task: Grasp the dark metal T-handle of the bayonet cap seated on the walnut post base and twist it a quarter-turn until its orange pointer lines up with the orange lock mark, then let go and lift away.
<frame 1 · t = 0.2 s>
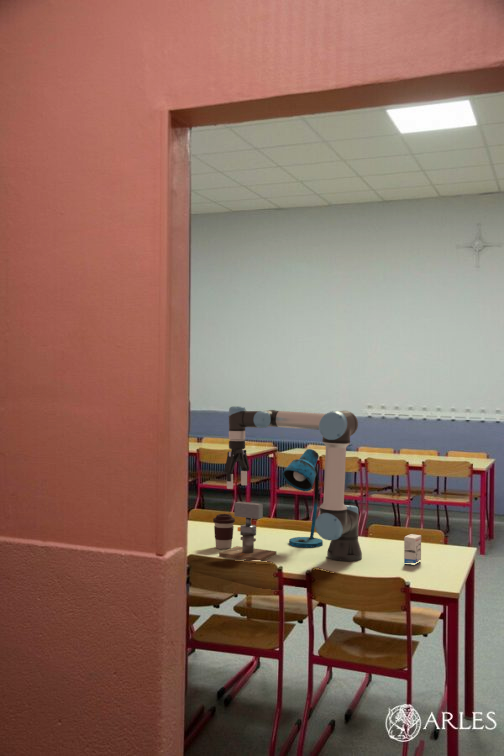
hand: (237, 486, 339), 29 cm above the table, fingers open, 13 cm apart
twist cap: (248, 518, 328), point 16 cm above the table, hinge at 0.0°
desk lamp: (303, 545, 351), on the table
post base: (247, 555, 328), on the table
coffee cup: (223, 548, 343), on the table
ink box: (412, 563, 318), on the table
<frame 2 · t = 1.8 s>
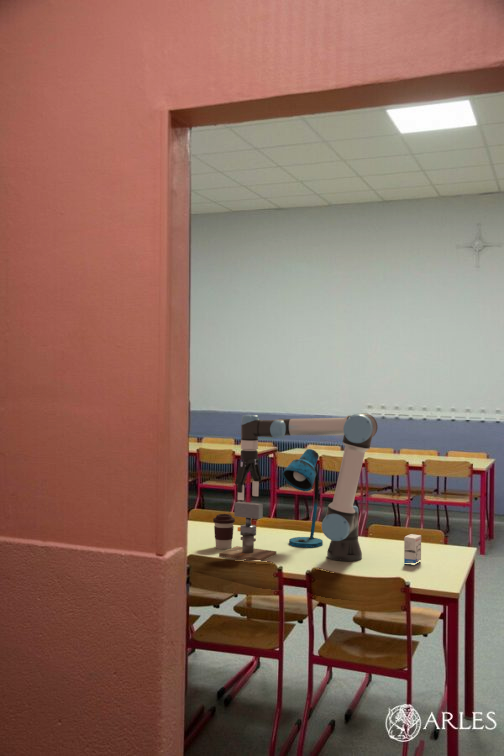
hand: (248, 498, 328), 25 cm above the table, fingers open, 13 cm apart
nothing on the table moved.
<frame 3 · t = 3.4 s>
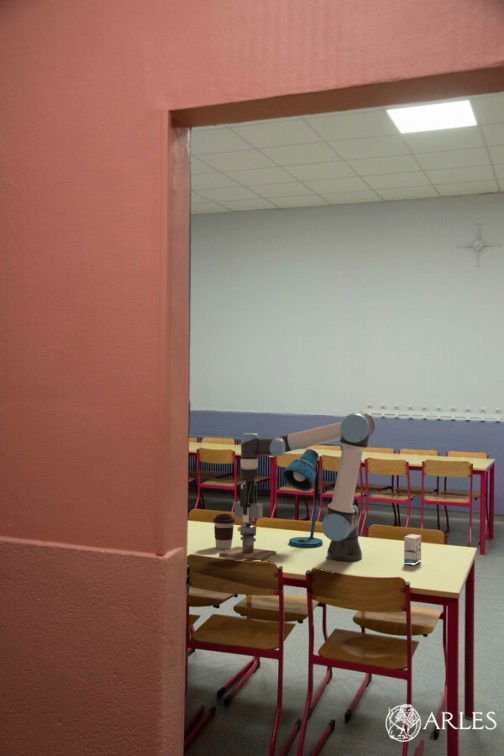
hand: (248, 521, 328), 15 cm above the table, fingers closed on twist cap, 4 cm apart
twist cap: (248, 518, 328), point 16 cm above the table, hinge at -0.1°, touching gripper
everything else where it was.
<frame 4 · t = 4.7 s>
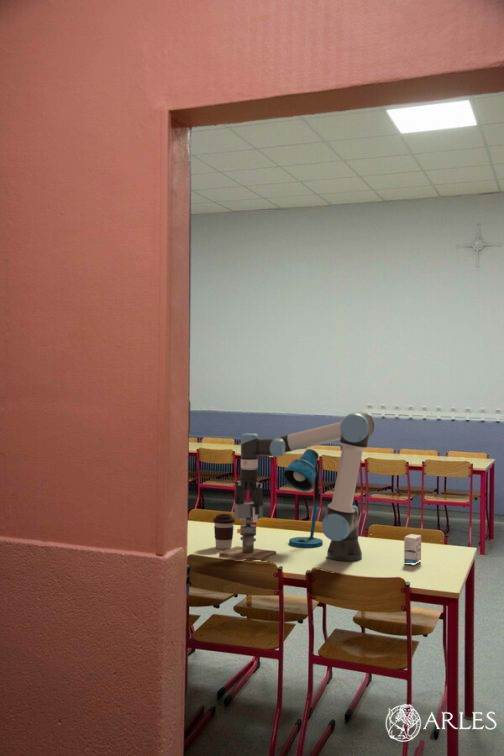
hand: (248, 520, 328), 15 cm above the table, fingers closed on twist cap, 6 cm apart
twist cap: (248, 518, 328), point 16 cm above the table, hinge at 53.0°, touching gripper
everything else where it was.
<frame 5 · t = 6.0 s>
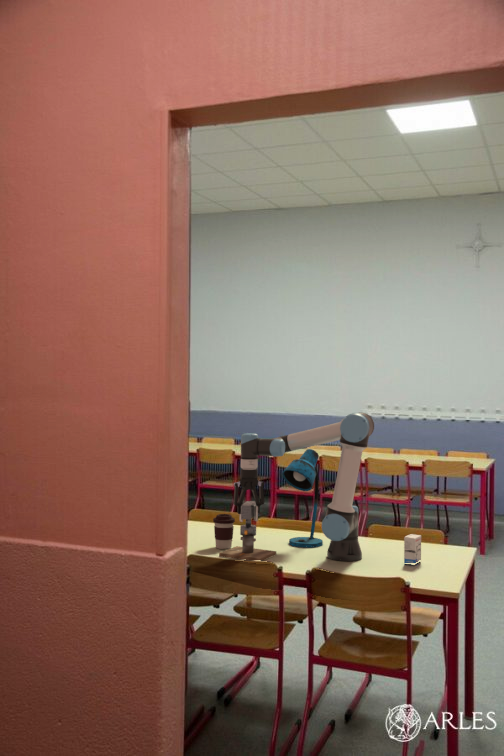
hand: (248, 520, 328), 15 cm above the table, fingers closed on twist cap, 6 cm apart
twist cap: (248, 518, 328), point 16 cm above the table, hinge at 106.2°, touching gripper
everything else where it was.
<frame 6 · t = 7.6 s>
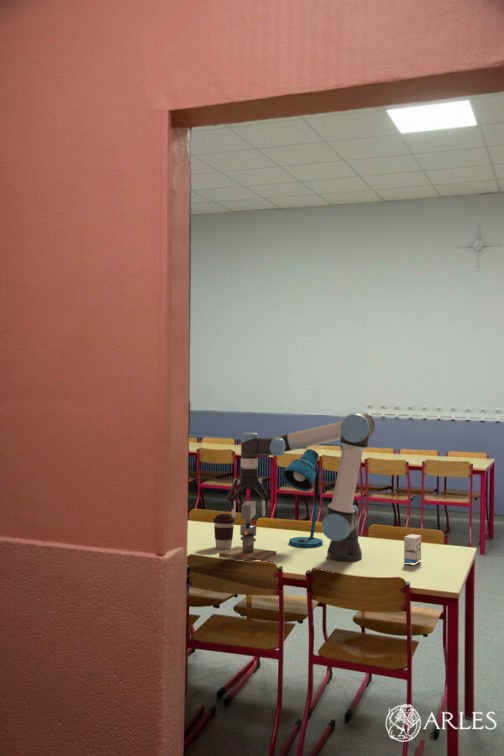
hand: (248, 516, 328), 17 cm above the table, fingers open, 13 cm apart
twist cap: (248, 518, 328), point 16 cm above the table, hinge at 106.7°
everything else where it was.
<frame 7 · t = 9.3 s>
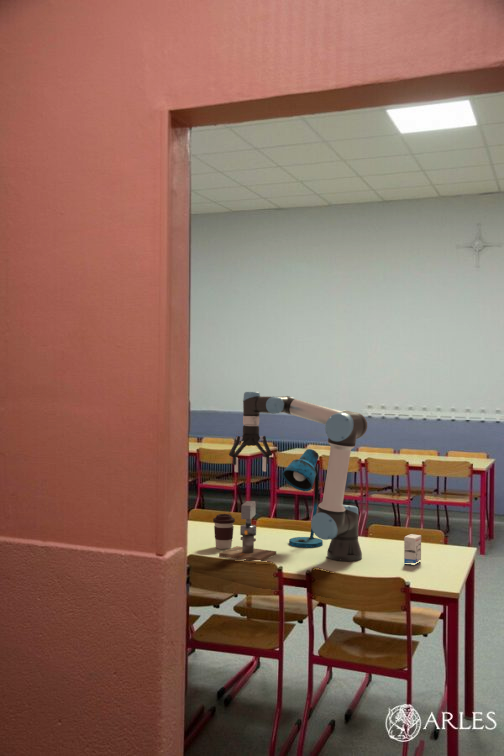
hand: (250, 471, 341), 35 cm above the table, fingers open, 13 cm apart
nothing on the table moved.
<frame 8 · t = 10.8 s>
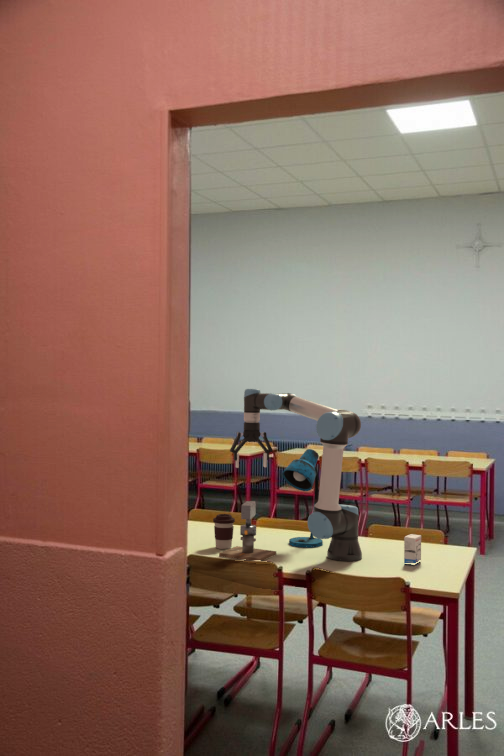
hand: (251, 467, 347), 37 cm above the table, fingers open, 13 cm apart
nothing on the table moved.
at the end: twist cap at +107° (first picture: +0°); the gripper is holding nothing; coffee cup moved 0.2 cm from its start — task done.
